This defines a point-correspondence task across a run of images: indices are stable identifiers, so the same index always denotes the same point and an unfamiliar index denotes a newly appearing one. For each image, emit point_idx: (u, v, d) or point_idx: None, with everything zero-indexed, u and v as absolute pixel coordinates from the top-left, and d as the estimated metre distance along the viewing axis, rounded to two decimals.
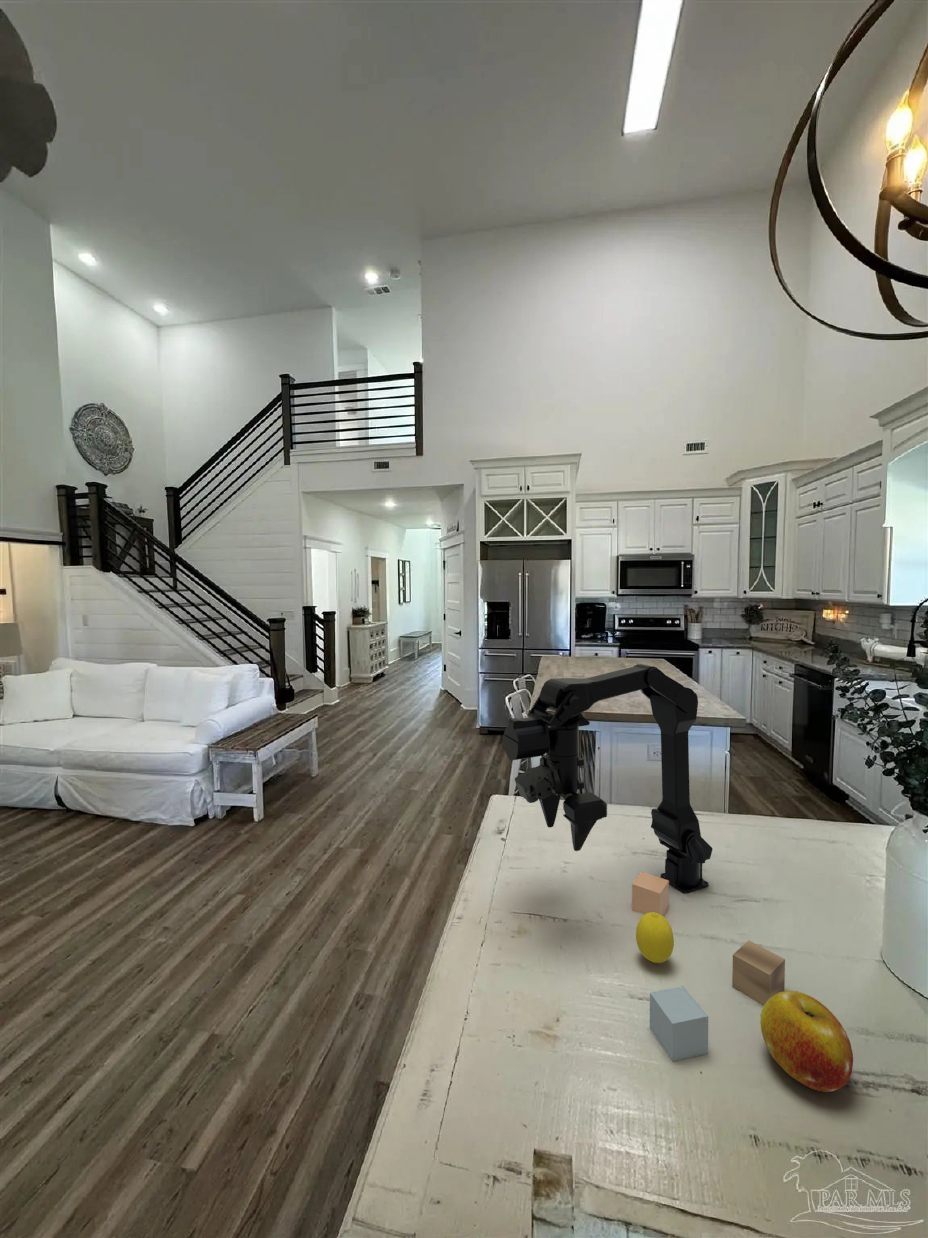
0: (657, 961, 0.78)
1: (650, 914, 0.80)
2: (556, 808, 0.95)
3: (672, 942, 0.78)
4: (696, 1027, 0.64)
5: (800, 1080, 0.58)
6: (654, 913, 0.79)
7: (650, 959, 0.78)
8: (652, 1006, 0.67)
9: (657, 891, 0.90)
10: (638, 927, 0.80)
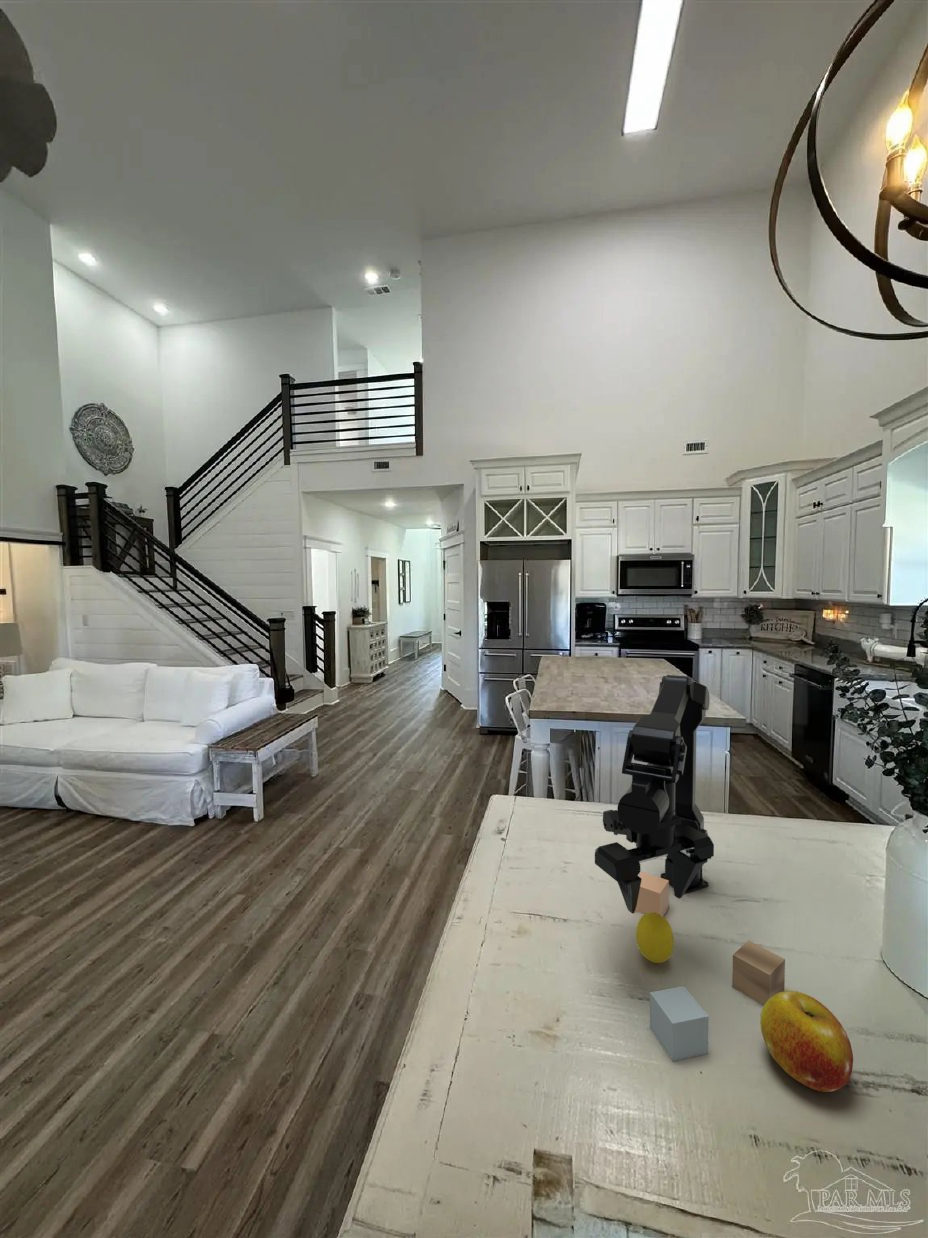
0: (657, 961, 0.78)
1: (650, 914, 0.80)
2: (684, 881, 0.80)
3: (672, 942, 0.78)
4: (696, 1027, 0.64)
5: (800, 1080, 0.58)
6: (654, 913, 0.79)
7: (650, 959, 0.78)
8: (652, 1006, 0.67)
9: (657, 891, 0.90)
10: (638, 927, 0.80)
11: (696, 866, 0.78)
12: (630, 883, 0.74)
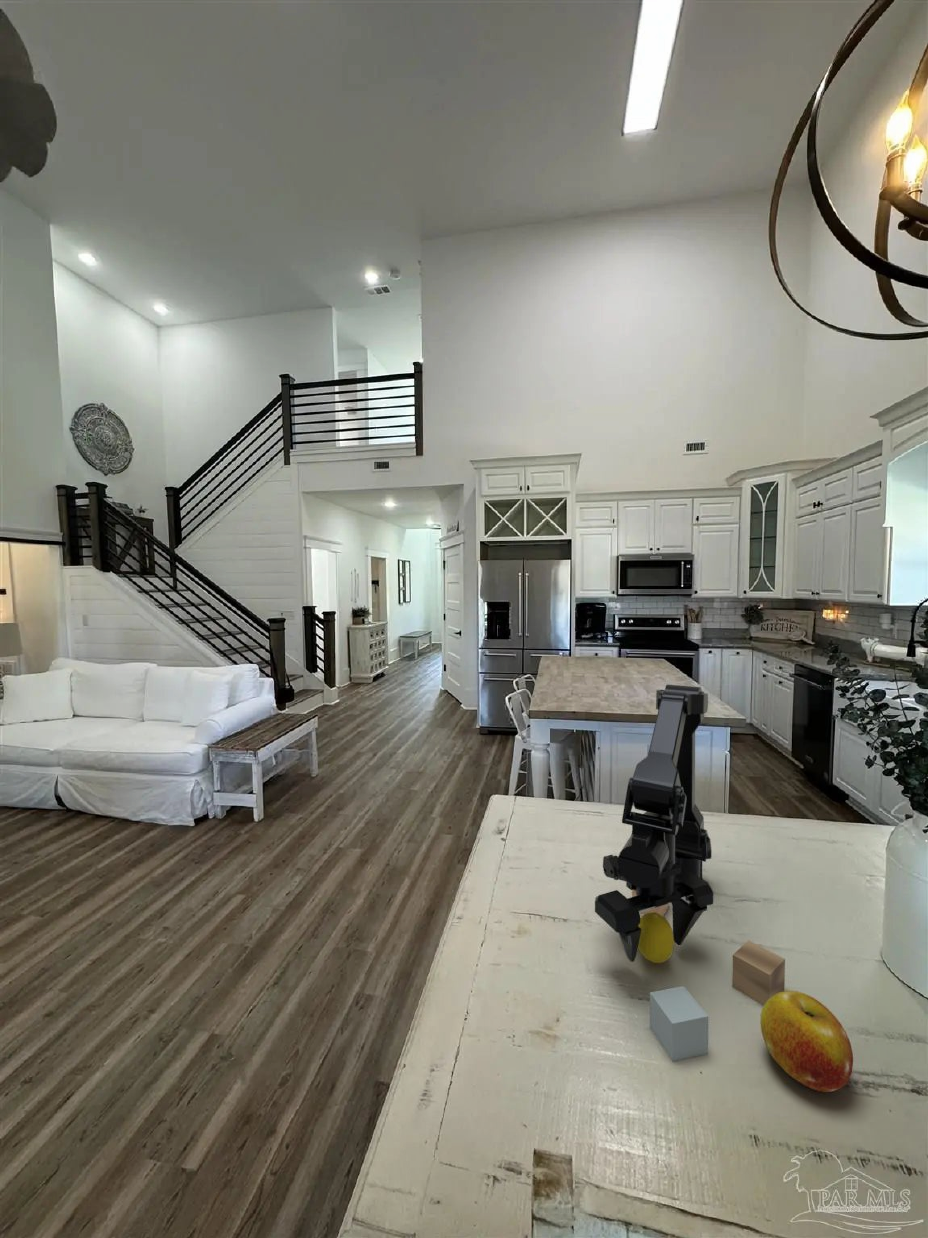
0: (657, 961, 0.78)
1: (650, 914, 0.80)
2: (684, 929, 0.80)
3: (672, 942, 0.78)
4: (696, 1027, 0.64)
5: (800, 1080, 0.58)
6: (654, 913, 0.79)
7: (650, 959, 0.78)
8: (652, 1006, 0.67)
9: None
10: None
11: (696, 914, 0.79)
12: (630, 934, 0.74)
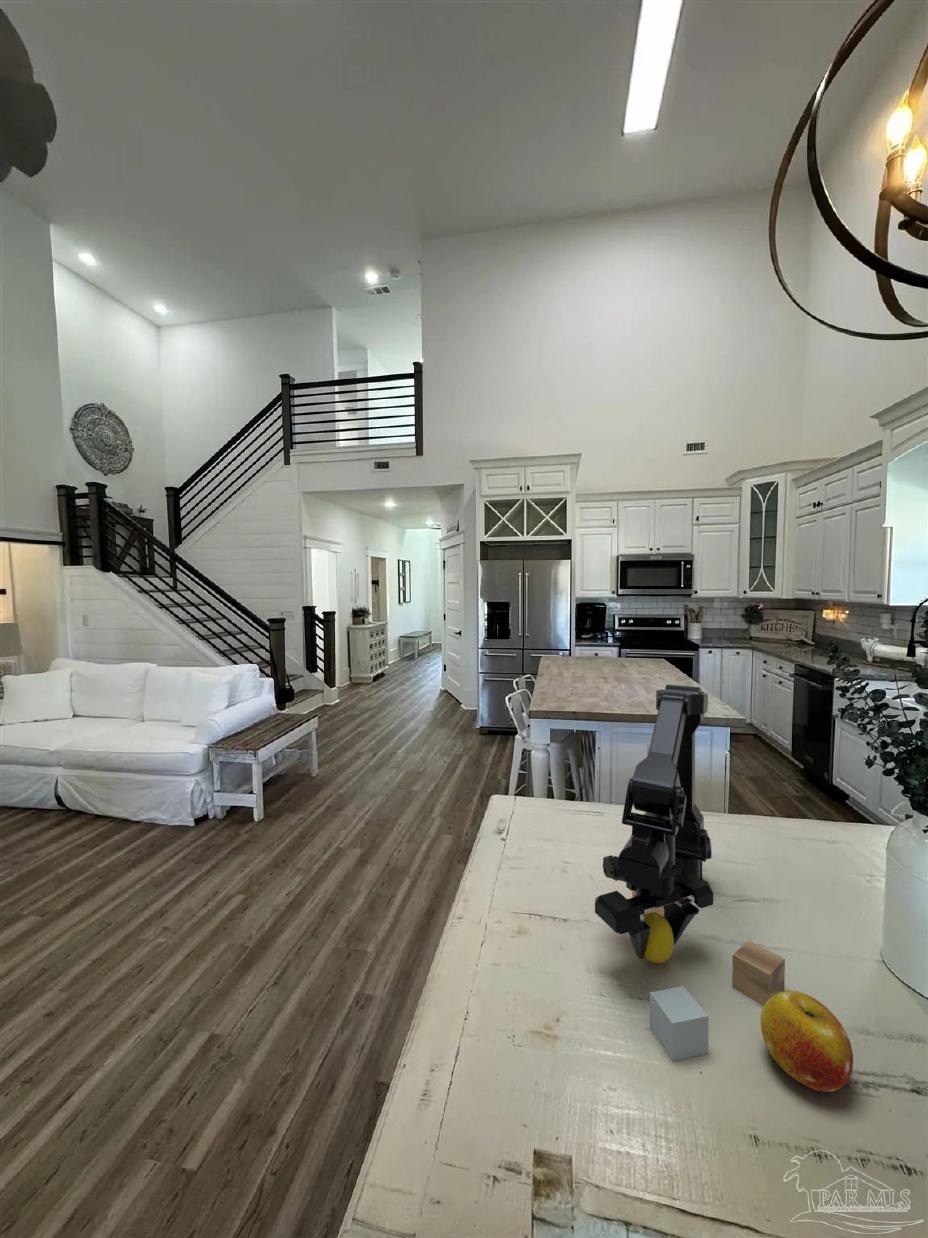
0: (657, 961, 0.78)
1: (650, 914, 0.80)
2: (676, 932, 0.79)
3: (672, 942, 0.78)
4: (696, 1027, 0.64)
5: (800, 1080, 0.58)
6: (654, 913, 0.79)
7: (650, 959, 0.78)
8: (652, 1006, 0.67)
9: None
10: None
11: (687, 918, 0.78)
12: (639, 932, 0.75)
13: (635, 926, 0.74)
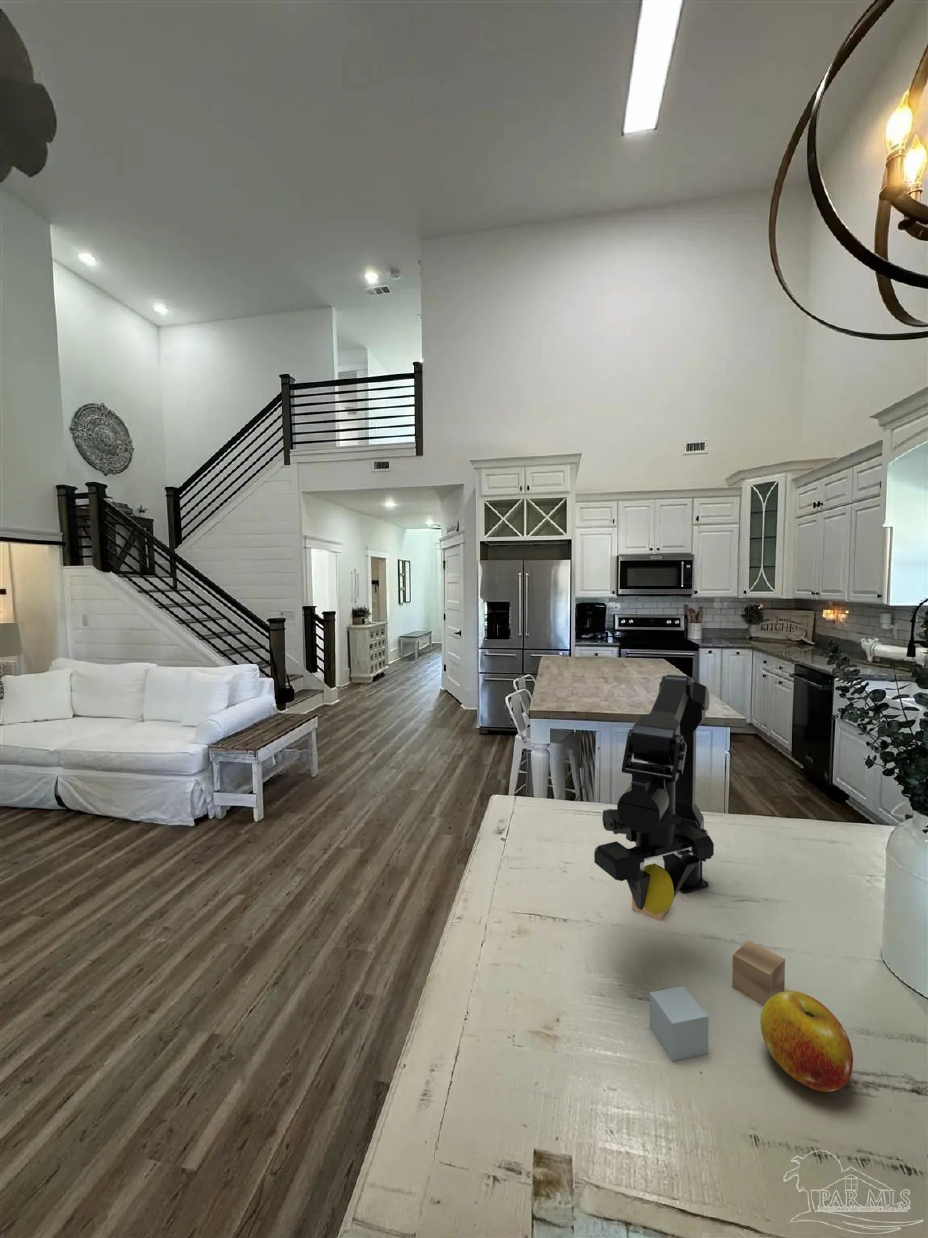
0: (657, 911, 0.77)
1: (650, 865, 0.79)
2: (676, 883, 0.79)
3: (673, 892, 0.77)
4: (696, 1027, 0.64)
5: (800, 1080, 0.58)
6: (654, 864, 0.79)
7: (650, 909, 0.77)
8: (652, 1006, 0.67)
9: None
10: None
11: (688, 868, 0.78)
12: (639, 880, 0.74)
13: (635, 873, 0.73)
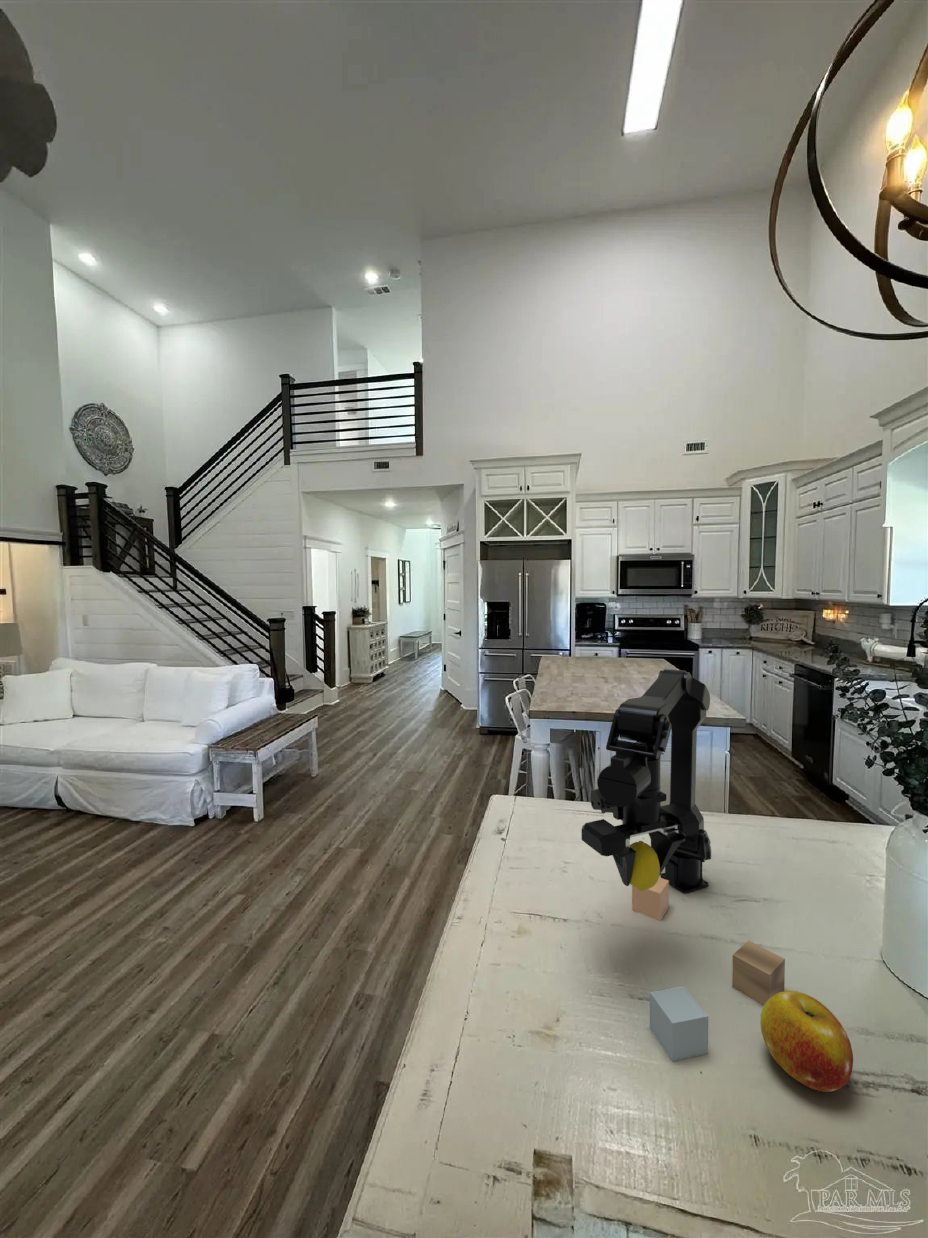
0: (643, 887, 0.78)
1: (636, 843, 0.80)
2: (662, 860, 0.80)
3: (658, 868, 0.79)
4: (696, 1027, 0.64)
5: (800, 1080, 0.58)
6: (640, 841, 0.80)
7: (636, 885, 0.79)
8: (652, 1006, 0.67)
9: (657, 891, 0.90)
10: None
11: (673, 845, 0.79)
12: (625, 856, 0.75)
13: (620, 849, 0.75)
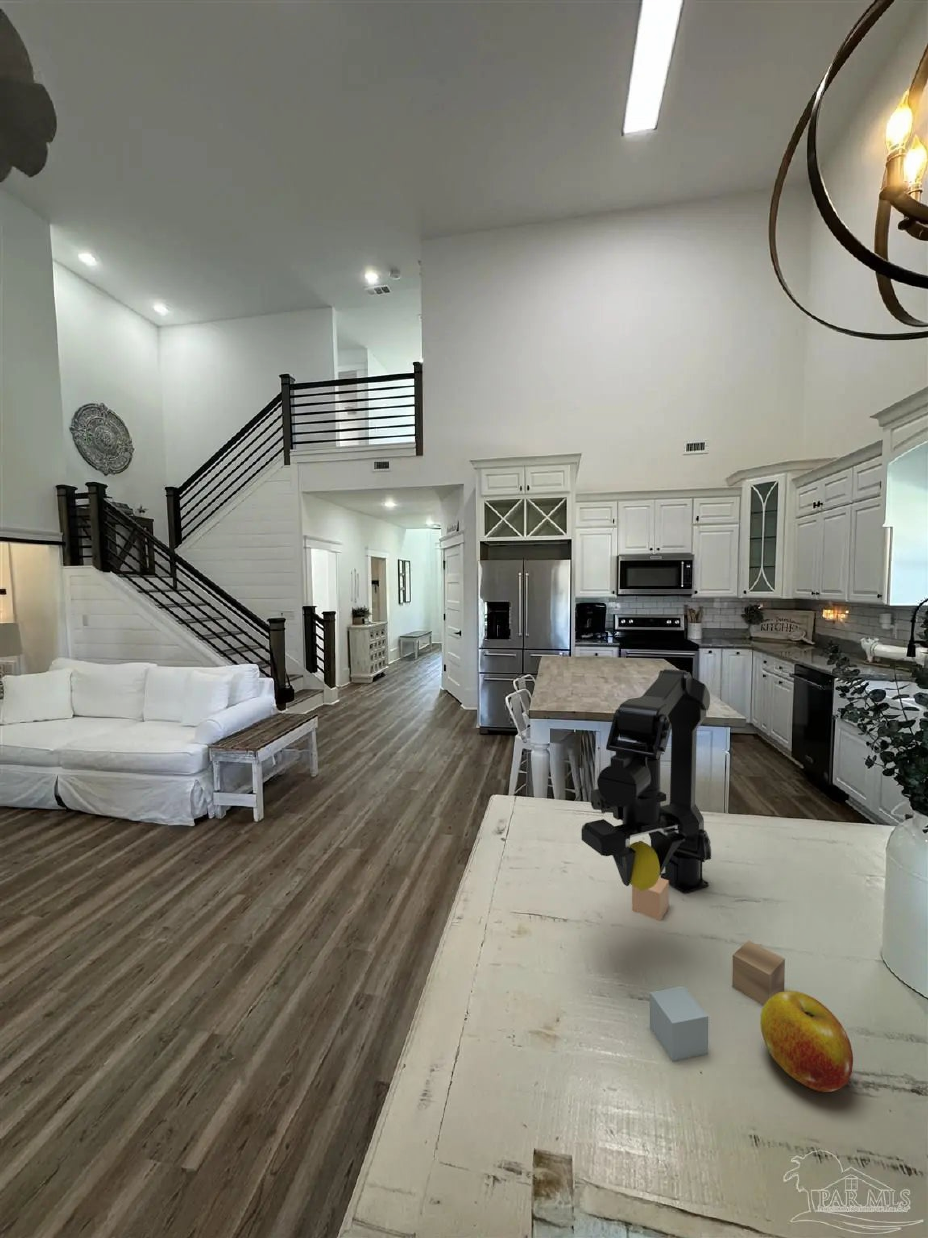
0: (643, 887, 0.78)
1: (636, 843, 0.80)
2: (662, 860, 0.80)
3: (658, 868, 0.79)
4: (696, 1027, 0.64)
5: (800, 1080, 0.58)
6: (640, 841, 0.80)
7: (636, 885, 0.79)
8: (652, 1006, 0.67)
9: (657, 891, 0.90)
10: None
11: (673, 845, 0.79)
12: (625, 855, 0.75)
13: (620, 849, 0.75)
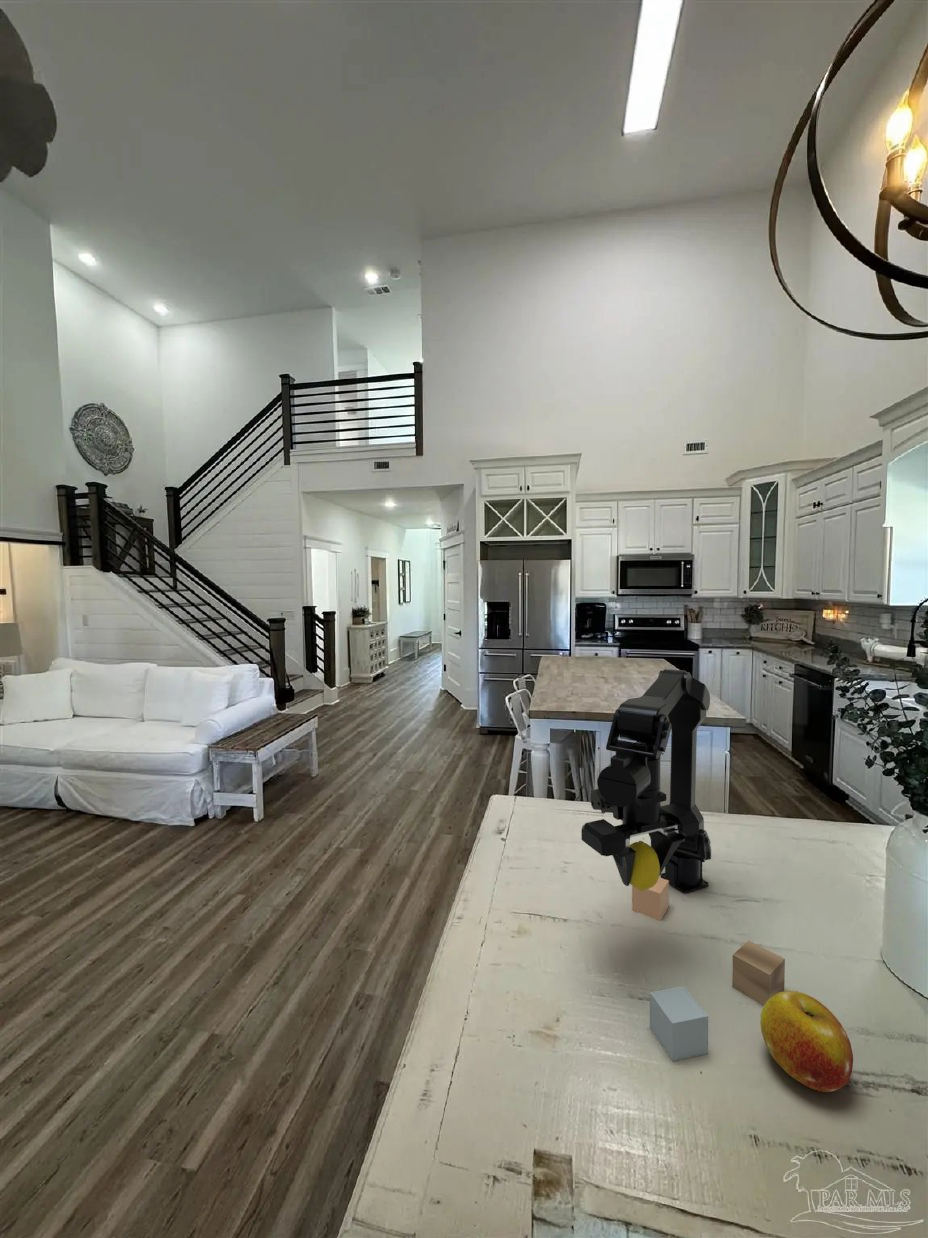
0: (643, 887, 0.78)
1: (636, 843, 0.80)
2: (662, 860, 0.80)
3: (658, 868, 0.79)
4: (696, 1027, 0.64)
5: (800, 1080, 0.58)
6: (640, 841, 0.80)
7: (636, 885, 0.79)
8: (652, 1006, 0.67)
9: (657, 891, 0.90)
10: None
11: (673, 845, 0.79)
12: (625, 855, 0.75)
13: (620, 849, 0.75)
